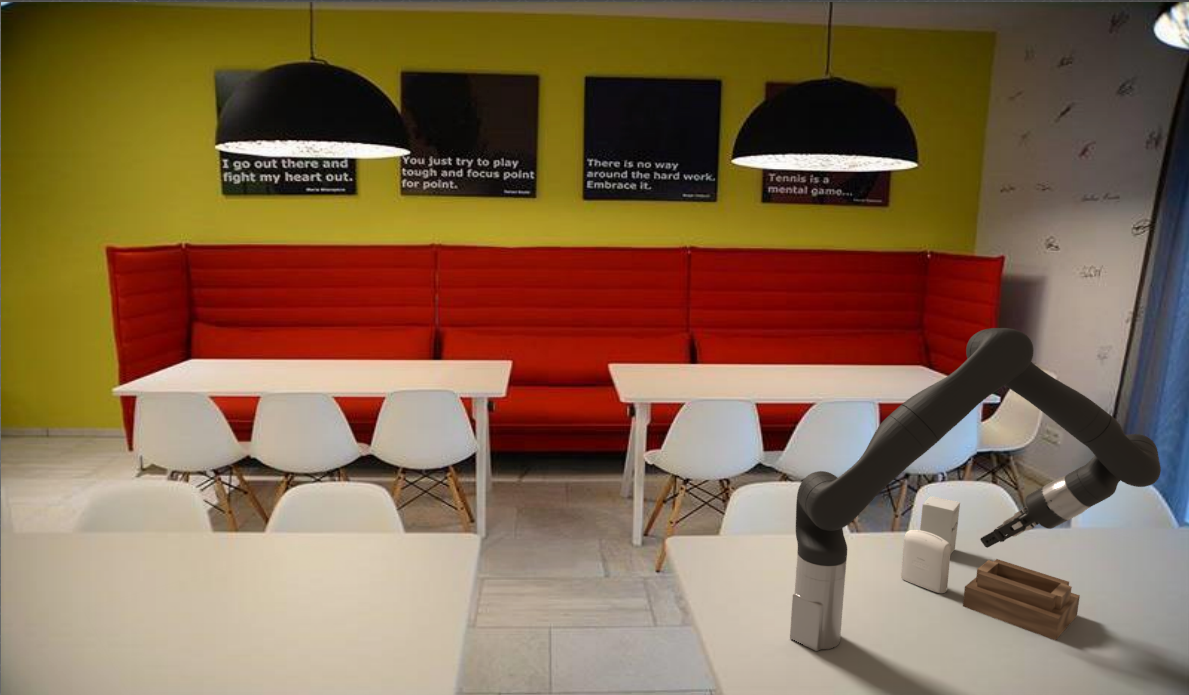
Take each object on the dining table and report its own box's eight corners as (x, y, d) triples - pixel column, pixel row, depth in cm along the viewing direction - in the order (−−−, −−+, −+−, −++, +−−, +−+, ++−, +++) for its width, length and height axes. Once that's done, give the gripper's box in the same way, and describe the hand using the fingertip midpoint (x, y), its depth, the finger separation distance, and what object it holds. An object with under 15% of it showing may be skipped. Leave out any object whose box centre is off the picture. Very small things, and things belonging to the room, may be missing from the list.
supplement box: (948, 560, 191) (953, 510, 189) (916, 551, 196) (921, 503, 193) (956, 549, 197) (961, 501, 195) (925, 541, 202) (929, 494, 199)
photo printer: (897, 578, 181) (901, 528, 179) (907, 573, 184) (911, 523, 182) (940, 596, 173) (946, 543, 171) (950, 590, 176) (955, 538, 174)
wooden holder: (1055, 641, 157) (1060, 604, 155) (962, 607, 169) (966, 573, 168) (1076, 617, 166) (1081, 582, 165) (987, 586, 179) (991, 553, 177)
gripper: (1057, 477, 162) (993, 513, 172) (1032, 493, 153) (965, 530, 163) (1083, 509, 159) (1016, 544, 170) (1059, 527, 150) (989, 563, 160)
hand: (991, 537), depth 166 cm, fingers open, 8 cm apart
